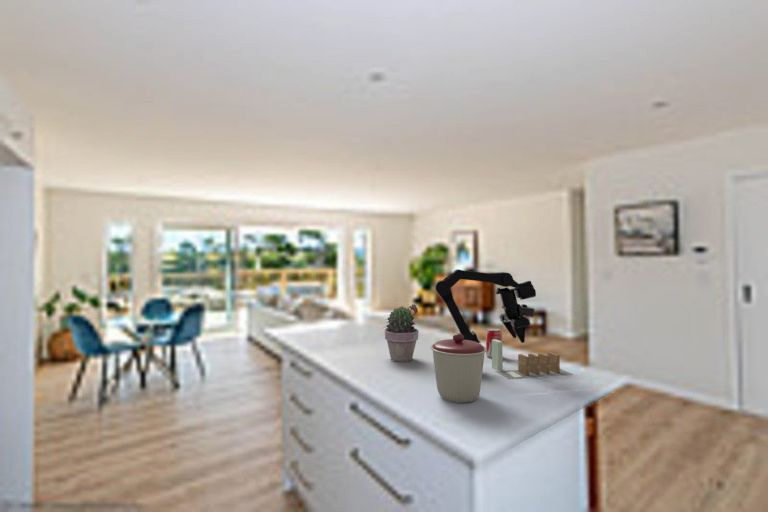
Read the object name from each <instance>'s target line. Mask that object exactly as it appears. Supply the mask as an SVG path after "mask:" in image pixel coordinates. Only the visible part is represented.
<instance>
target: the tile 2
mask: <svg viewBox="0 0 768 512" xmlns="http://www.w3.org/2000/svg"><path fill="white" fill-rule="evenodd" d="M517 366H518V367H517V368H518V369H517V370H518V372H519V373H521V374H523V375H525V376H528V375H529V357H528V355H525V354H523V353H520V354H519V353H518V354H517Z"/></svg>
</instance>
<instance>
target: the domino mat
mask: <svg viewBox="0 0 768 512" xmlns="http://www.w3.org/2000/svg"><path fill="white" fill-rule="evenodd" d="M494 372H495V373H496V374H498V375H500V376H502V377H504V378H506V379H507V380H518V379H532V378H533V379H534V378H545V377H555V376H557V377H558V376H568V375H569V376H570V375H573V373H572V372H569V371H567V370H564V369H562V368H560V373H554V372H552V371H550V374H545V373H543V372H541V371H540V375H535V374H533V373H531V372H529V375H528V376H525V375H523V374H521V373H519V372H518V369H513V370H503V371H497V370H495V371H494Z"/></svg>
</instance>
